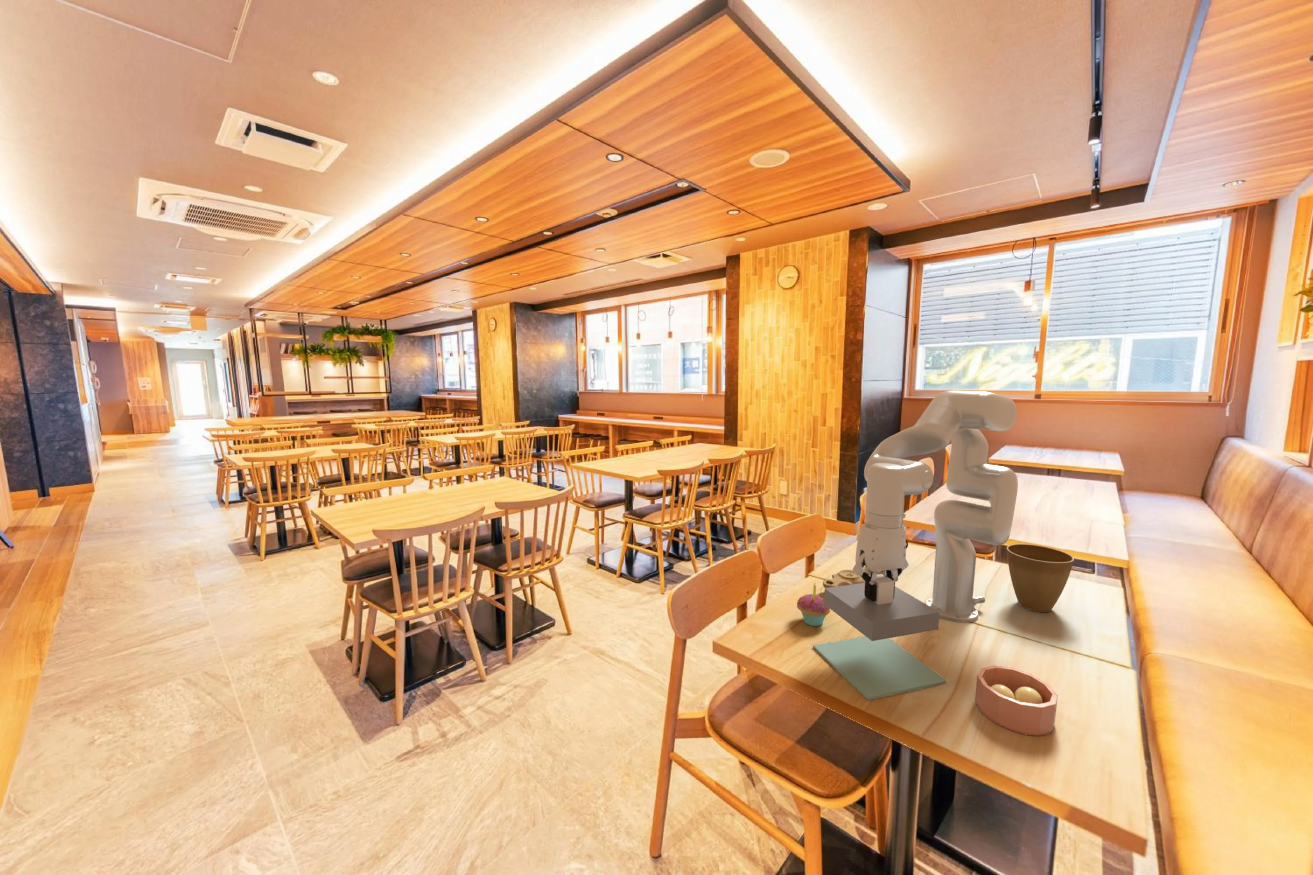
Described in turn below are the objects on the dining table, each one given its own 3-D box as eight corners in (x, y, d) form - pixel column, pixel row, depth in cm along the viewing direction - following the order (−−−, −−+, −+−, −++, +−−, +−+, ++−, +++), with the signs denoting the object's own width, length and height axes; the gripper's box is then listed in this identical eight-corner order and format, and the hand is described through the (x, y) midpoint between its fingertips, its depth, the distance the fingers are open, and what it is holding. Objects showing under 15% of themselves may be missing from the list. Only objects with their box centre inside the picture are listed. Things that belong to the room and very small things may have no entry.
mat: (881, 635, 125) (882, 633, 125) (946, 683, 106) (947, 680, 106) (812, 647, 120) (813, 645, 120) (868, 700, 101) (868, 697, 101)
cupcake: (831, 631, 127) (833, 587, 125) (797, 628, 129) (799, 585, 127) (827, 615, 135) (828, 573, 134) (795, 612, 137) (796, 571, 135)
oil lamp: (820, 594, 148) (820, 579, 147) (832, 577, 160) (833, 563, 159) (857, 603, 142) (857, 587, 141) (867, 585, 154) (868, 570, 153)
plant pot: (1079, 611, 136) (1085, 556, 134) (1049, 624, 129) (1055, 566, 127) (1020, 590, 149) (1025, 539, 147) (990, 600, 143) (995, 548, 140)
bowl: (1008, 687, 104) (1010, 661, 103) (1070, 728, 92) (1073, 699, 91) (961, 698, 101) (963, 671, 100) (1019, 741, 89) (1022, 711, 88)
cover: (883, 595, 121) (885, 560, 120) (938, 629, 105) (941, 589, 104) (824, 604, 117) (825, 568, 116) (871, 641, 101) (874, 599, 100)
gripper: (902, 511, 114) (897, 586, 116) (840, 517, 109) (836, 595, 112) (928, 521, 107) (922, 600, 109) (862, 527, 102) (858, 610, 105)
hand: (879, 596), depth 110 cm, fingers closed on cover, 4 cm apart
